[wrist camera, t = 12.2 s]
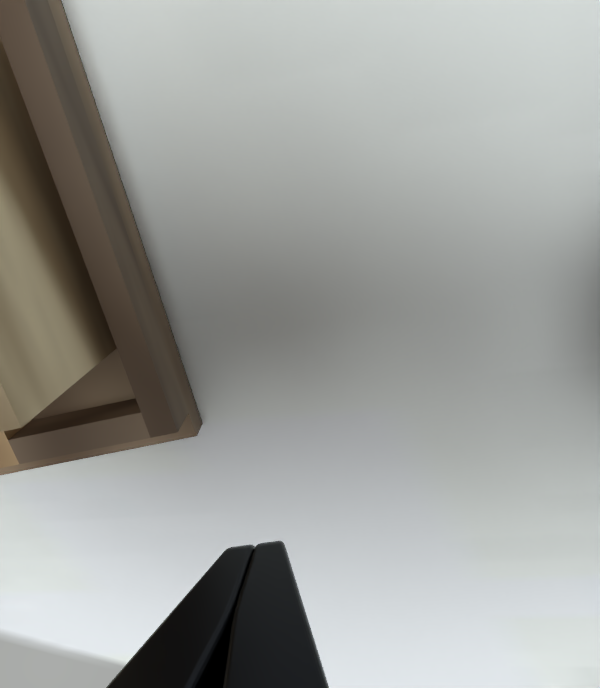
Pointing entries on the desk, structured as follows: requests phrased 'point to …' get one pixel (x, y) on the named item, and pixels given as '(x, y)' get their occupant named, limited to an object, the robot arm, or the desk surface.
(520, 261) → the desk surface
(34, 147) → the oak plank
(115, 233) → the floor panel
